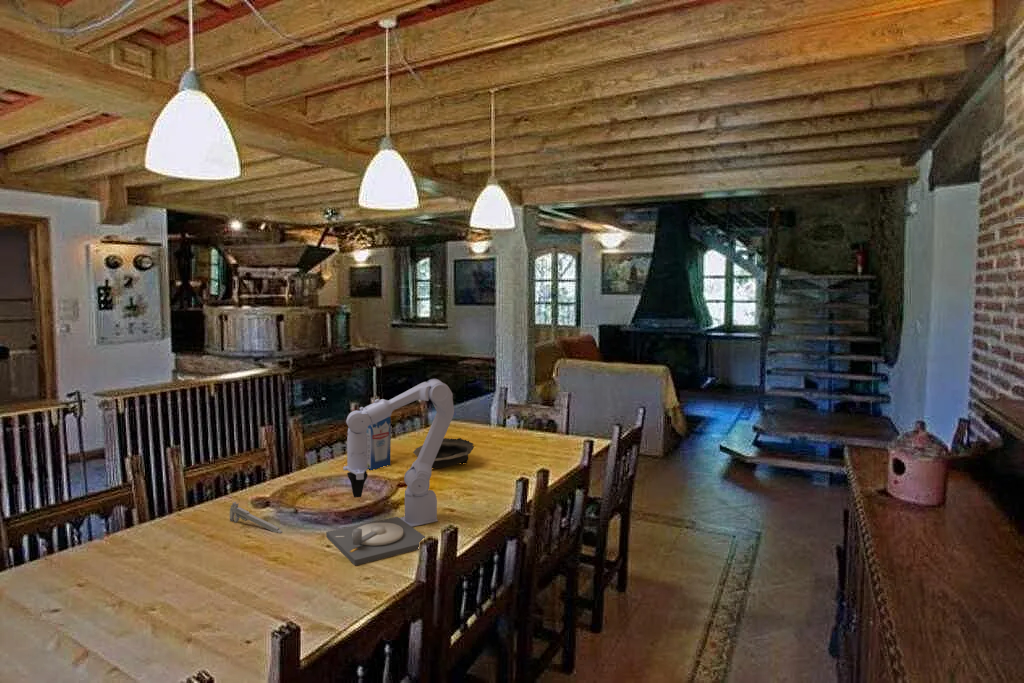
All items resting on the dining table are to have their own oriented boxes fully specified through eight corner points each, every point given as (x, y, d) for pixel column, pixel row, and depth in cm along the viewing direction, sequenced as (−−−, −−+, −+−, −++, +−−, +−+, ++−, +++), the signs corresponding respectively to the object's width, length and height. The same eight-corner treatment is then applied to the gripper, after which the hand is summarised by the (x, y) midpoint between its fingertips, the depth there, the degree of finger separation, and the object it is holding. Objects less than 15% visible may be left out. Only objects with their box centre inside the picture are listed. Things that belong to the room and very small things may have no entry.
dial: (373, 522, 178) (373, 507, 178) (412, 531, 173) (413, 515, 172) (333, 543, 163) (333, 527, 162) (375, 553, 157) (375, 536, 157)
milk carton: (371, 470, 237) (371, 420, 236) (361, 467, 241) (361, 418, 239) (390, 465, 245) (390, 416, 243) (380, 462, 249) (380, 414, 247)
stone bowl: (478, 457, 258) (478, 437, 257) (468, 479, 233) (468, 456, 232) (421, 454, 260) (421, 433, 259) (406, 475, 236) (406, 453, 234)
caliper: (229, 522, 182) (229, 502, 182) (232, 521, 183) (232, 501, 183) (279, 534, 174) (279, 513, 173) (282, 533, 175) (282, 512, 174)
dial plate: (397, 521, 185) (397, 515, 184) (431, 546, 167) (431, 540, 167) (326, 536, 172) (326, 531, 172) (354, 565, 154) (354, 559, 154)
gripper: (341, 446, 183) (341, 490, 184) (345, 459, 169) (345, 506, 170) (364, 445, 185) (364, 488, 186) (371, 457, 172) (371, 503, 173)
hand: (357, 496), depth 179 cm, fingers closed
